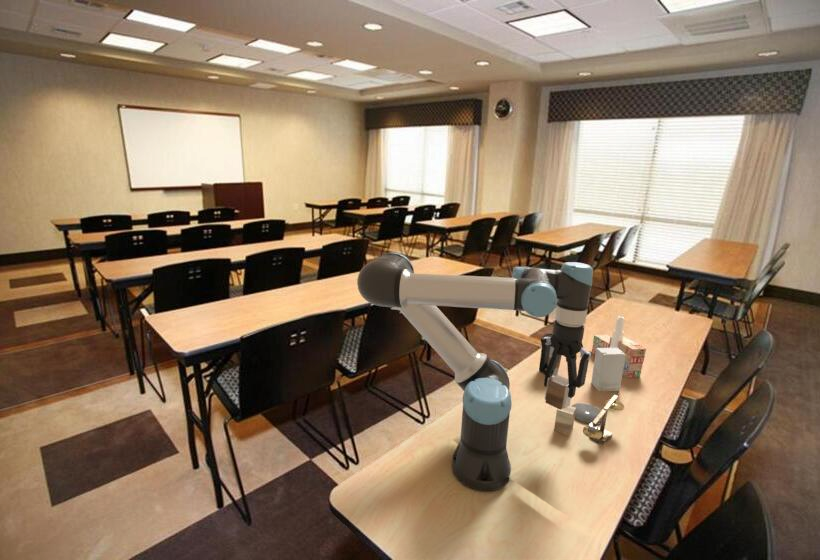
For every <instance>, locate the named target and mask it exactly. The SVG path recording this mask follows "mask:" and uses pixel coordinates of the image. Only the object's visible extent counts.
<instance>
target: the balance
mask: <svg viewBox="0 0 820 560" xmlns="http://www.w3.org/2000/svg"><path fill="white" fill-rule="evenodd" d="M618 398H619V396H618V395H616V394H614V395H613V396H612V397H611V398H610V399H607V400H605V403H604V404H605V406H604V407H603V408H602V409H601V412H600V413H599V414H598V416H597V417H596V418H595V419H594V421H593V422H592V423H591V424H588V425H587V426H584V427H583V429H582V433H583V435H584V436H586V437H588V438H589V439H592V440H593V441H595V442H596V443H600V445H605V443H606V442H607V441H609V440H610V439H611V438H612V437H613V432H611V431H608V430H606V429H605V428H606V422H607V417H608V411H609V410H610V409H611V410H613V411H623V410H624V409H625V405H624V404H623V403H622V402H621V401H618V400H619V399H618ZM600 420H601V423H600V426H599V424H598V423H599V421H600Z"/></svg>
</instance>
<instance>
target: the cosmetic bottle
mask: <svg viewBox="0 0 820 560" xmlns="http://www.w3.org/2000/svg"><path fill="white" fill-rule="evenodd" d="M625 322H626V321H625V317H624V316H621V315H618V316H617V318H616V322H615V328H614V329H613V332H612V335H611V337H612V340H611V345H610V348H618V343H619V341H623V336H624V335H625V334H624V333H625V332H624V326H625ZM624 337H625V336H624Z"/></svg>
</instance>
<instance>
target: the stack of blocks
mask: <svg viewBox="0 0 820 560" xmlns="http://www.w3.org/2000/svg"><path fill="white" fill-rule="evenodd" d="M611 340H612V336H609V335H608V334H595V335H593V342H592V348H591V349H592V350H591V352H592V353H593V355H592V356H595V353H596V348H610V345H611ZM618 348H619V349H620V350H621V351H622V352H623V353H625V354H626V356H625V362H624V368H623V374H622V377H624V378H625V379H631V378H639V377H641V374H642V369H643V363H644V360H645V357H646V351H647V348H646V347H644V346H643V345H641V344H639V343H637V342H635V341H633V340H631V339H629V338H627V337H626V336H623V341H619V343H618Z"/></svg>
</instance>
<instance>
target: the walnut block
mask: <svg viewBox="0 0 820 560" xmlns="http://www.w3.org/2000/svg"><path fill="white" fill-rule="evenodd" d="M568 384H569V381H568V378H566V377H565V376H561V375H558V374H557V375H555V376H554V377H552V378H551V379H549V381H548V388H547V394H546V393H545V394H546V400H545V404H548V405H550V406H551V407H554V408H556V409H557V408H558V409H560V410H561V409H563V408H562V406H563V400H564V394H565V388H566V385H568Z"/></svg>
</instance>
